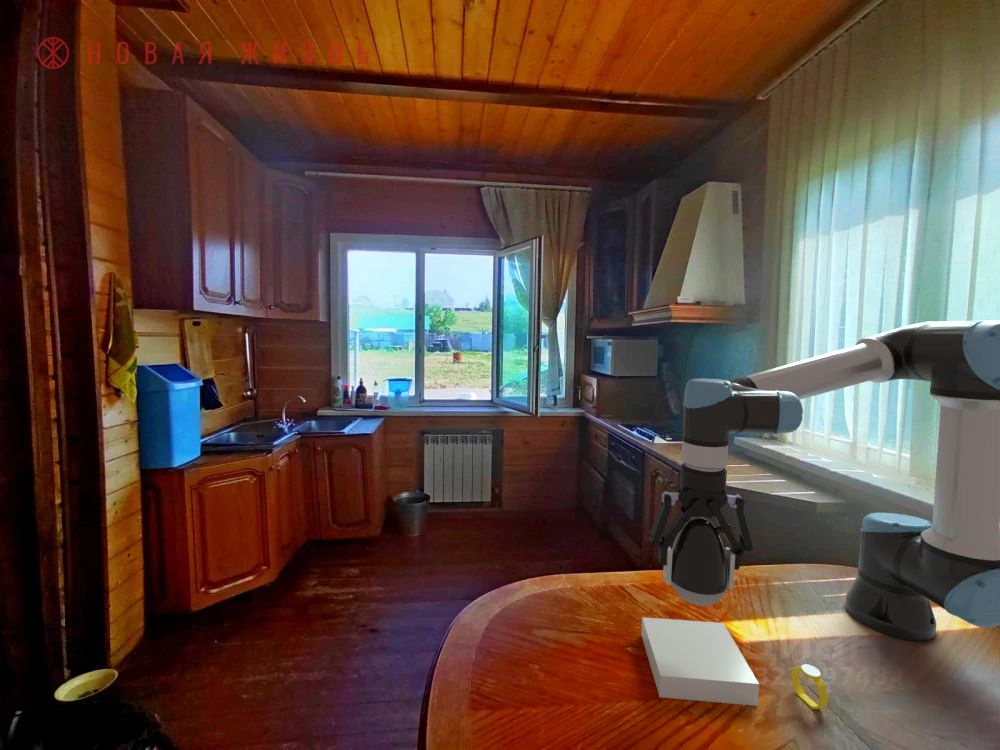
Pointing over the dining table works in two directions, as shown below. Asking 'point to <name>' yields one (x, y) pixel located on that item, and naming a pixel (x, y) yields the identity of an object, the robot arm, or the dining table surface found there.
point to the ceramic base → (698, 662)
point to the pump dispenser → (699, 563)
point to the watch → (816, 676)
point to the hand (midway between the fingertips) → (697, 583)
